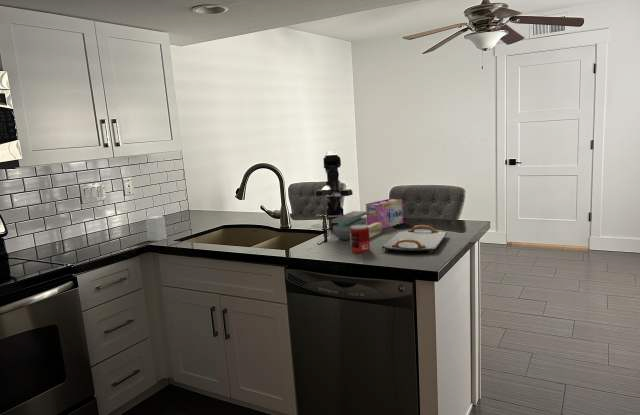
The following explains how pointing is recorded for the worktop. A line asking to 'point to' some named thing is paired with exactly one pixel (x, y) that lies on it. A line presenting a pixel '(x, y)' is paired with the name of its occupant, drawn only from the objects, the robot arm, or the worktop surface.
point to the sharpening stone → (348, 223)
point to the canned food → (360, 238)
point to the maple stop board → (373, 229)
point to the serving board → (415, 240)
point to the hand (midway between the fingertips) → (334, 209)
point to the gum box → (385, 212)
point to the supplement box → (156, 228)
